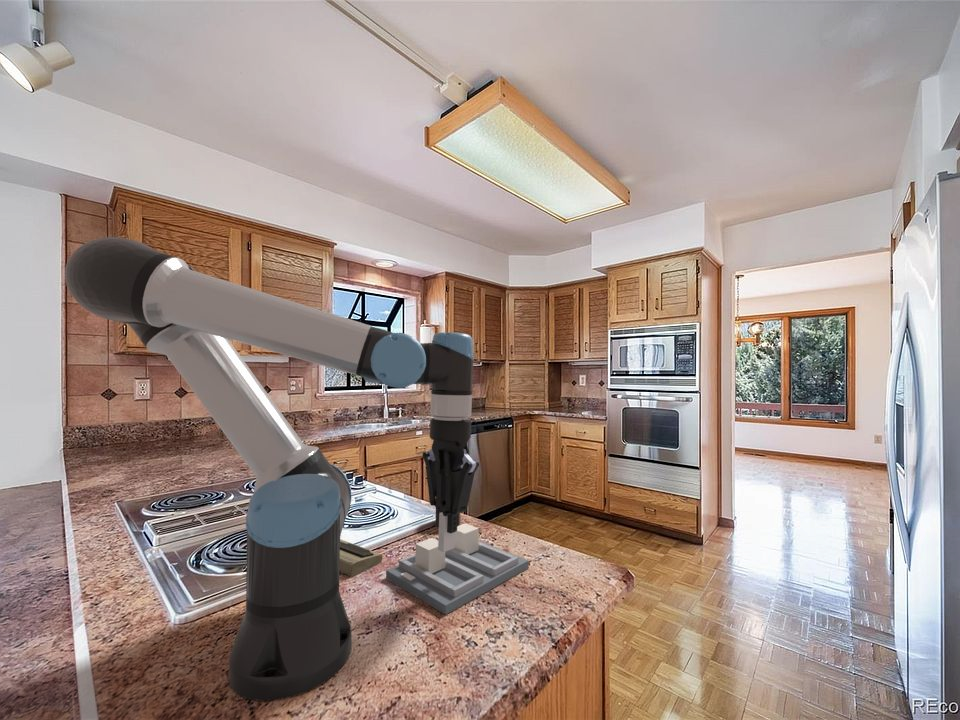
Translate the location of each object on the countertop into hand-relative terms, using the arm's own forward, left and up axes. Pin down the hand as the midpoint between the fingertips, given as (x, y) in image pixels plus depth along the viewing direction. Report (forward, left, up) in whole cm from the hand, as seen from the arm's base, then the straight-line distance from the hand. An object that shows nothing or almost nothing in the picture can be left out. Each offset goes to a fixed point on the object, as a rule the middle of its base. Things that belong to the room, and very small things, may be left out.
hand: (446, 548), depth 74 cm
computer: (-7, +24, -8) cm, 27 cm away
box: (+22, +24, -7) cm, 33 cm away
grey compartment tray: (+6, +3, -7) cm, 9 cm away
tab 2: (+11, +6, -5) cm, 13 cm away
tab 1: (+1, +5, -5) cm, 7 cm away
